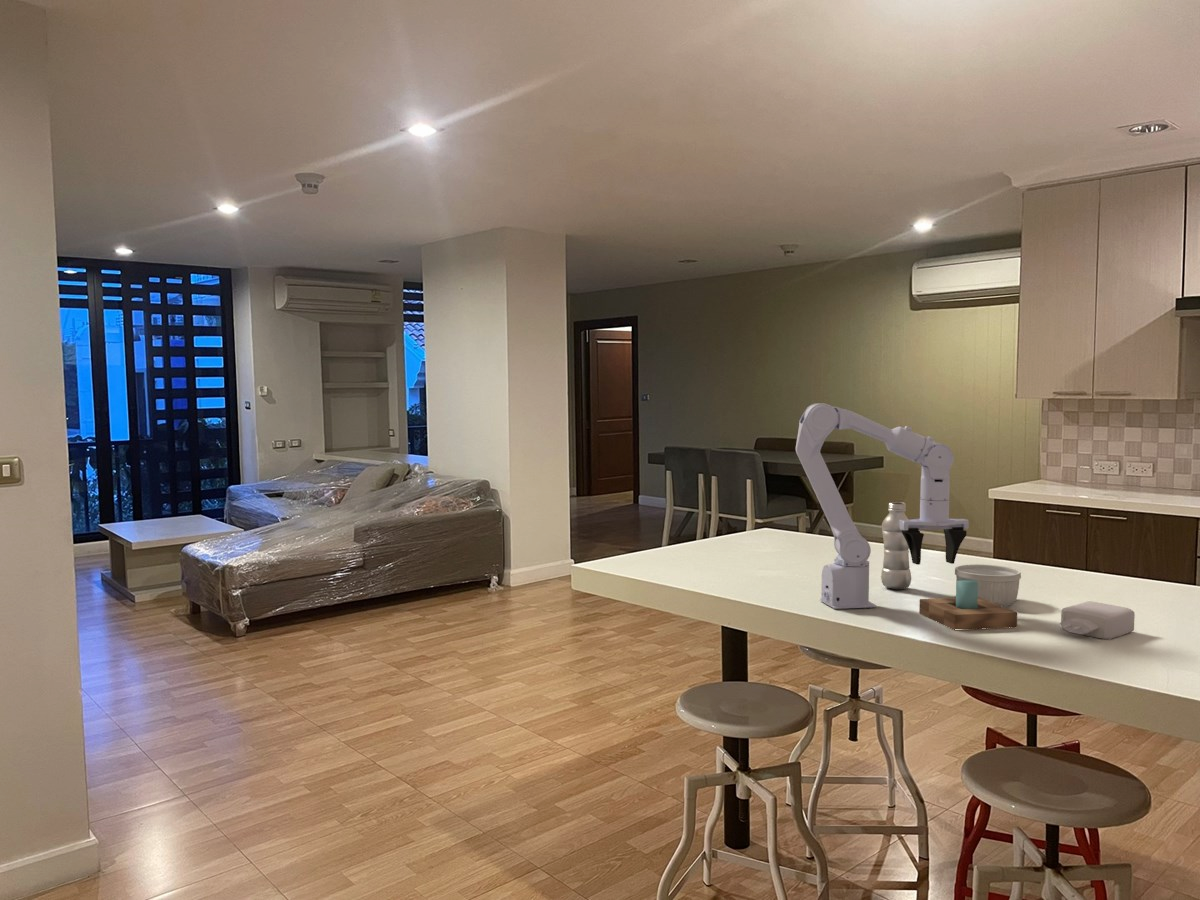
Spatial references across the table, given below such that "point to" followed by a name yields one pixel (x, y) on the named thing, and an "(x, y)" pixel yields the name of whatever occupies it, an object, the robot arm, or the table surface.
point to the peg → (967, 594)
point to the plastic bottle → (895, 549)
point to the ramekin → (992, 581)
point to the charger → (1097, 620)
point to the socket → (968, 614)
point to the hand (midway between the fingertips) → (933, 563)
